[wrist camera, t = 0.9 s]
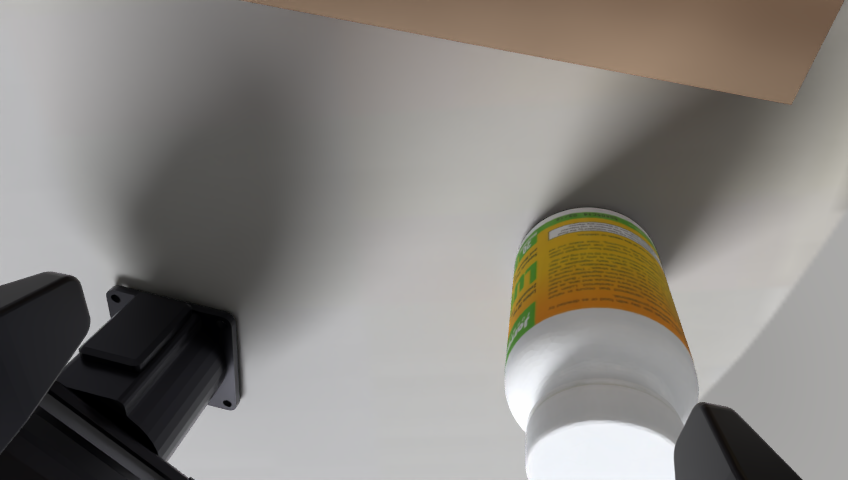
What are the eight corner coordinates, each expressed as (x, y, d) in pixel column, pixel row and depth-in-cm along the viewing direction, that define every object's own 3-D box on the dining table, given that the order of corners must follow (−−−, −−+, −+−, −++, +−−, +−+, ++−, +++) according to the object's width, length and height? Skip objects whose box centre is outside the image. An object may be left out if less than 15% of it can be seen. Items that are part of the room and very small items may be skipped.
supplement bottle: (514, 202, 21) (493, 388, 13) (665, 203, 20) (751, 407, 12) (515, 316, 24) (498, 531, 15) (649, 322, 22) (709, 557, 14)
